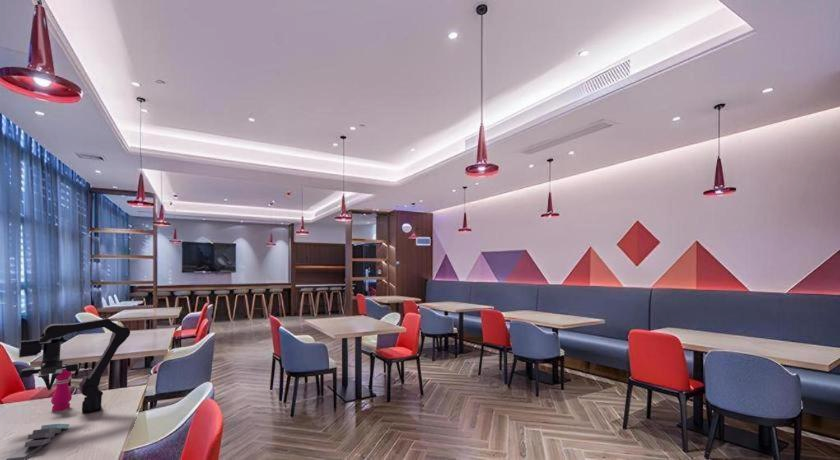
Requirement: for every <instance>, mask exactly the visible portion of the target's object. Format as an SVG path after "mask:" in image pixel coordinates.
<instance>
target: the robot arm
mask: <svg viewBox="0 0 840 460" xmlns="http://www.w3.org/2000/svg"><path fill="white" fill-rule="evenodd" d="M102 328H104V329H106V330H108V331H110V332H112V333H111V335H110V338H109V343H108V345H107V346H106V348H105V350H104V351H103V353H102V355H101V356H100V358H99V359H98V361H97V363H96V365H95V366H94V368H93V370H92V371H91V373H90V374H89V375H88V376H86V375H83V377H82V380H81V381H80V382H79V383H78V385H79V386H78V391H79V392H80V393H81V395H83V396H84V398H83V399H84V400H83V401H82V403H81V412H82V414H84V415H85V414H90V413H94V412H100V411H102V407H103V406H102V400H103V395H104V392H103V391H102V390H101V389H100V388H99V386H100V383H101V378H102V376H103V374H104V373H105V370H106V369H107V367H108V365H109V364H110V363H111V360H112V359H113V357H114V356H115V354H116V352H117V351H118V349H119V347H120V346H121V345H122V344H123V343H124V342H125V341H126V340H127V339H128V338H129V336H130V335H131V330H130V328H128V327H126V326H124V325H118V324H117V323H115V322H113V321H112V320H111V319H109V318H107V317H104V318H101V319H94V320H88V321H82V322H74V323H51V324H48V325H46V327H45V328H44V329H43V333H42V334H41V335H40V336H38V338H37V339H32V340H21V341H20V344H19V347H18V358H19V359H20V358H25V357H26V358H27V357H34V356H38V354H40V353H42V359H41V360H42V362H41V363H40V368H37V369H36V368H35V366H34V367H28V368H27V367H25V368H23V369H22V370H21V371H19V379H24V378H29V377H31V376H32V375H37V374H38V376H37V377H38V378H41V379H42V380H43V382H44V384H45V386H46V389H47V391H51V390H52V387H53V385H54V383H55V382H56V380H57V379H56V377H57V375H60V374H61V373H62V370H67V371H68V372H71V373H72V372H76V371H78V370H79V369H80V368H79V367H80V364H79V362H78V361H77V362H68V363H67V365H65V366H63V365H64V364H63V360H61V347H62V345H61V344H62V343H66V342H67V341H68V340H67V339H66V338H64V336H67V335H69V334H72V333H77V332H83V331H84V332H85V331H88V330H89V331H90V330H95V329H102ZM42 345H43V346H42ZM50 375H51V377H50Z"/></svg>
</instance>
